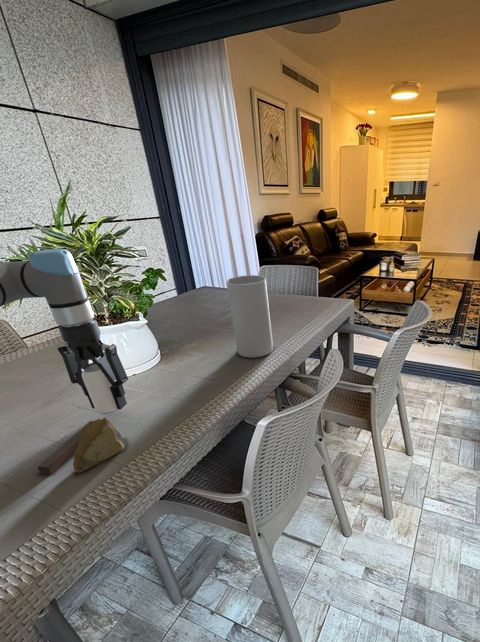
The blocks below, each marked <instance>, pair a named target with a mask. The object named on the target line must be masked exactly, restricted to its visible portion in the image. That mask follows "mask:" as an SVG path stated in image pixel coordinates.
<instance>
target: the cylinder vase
mask: <svg viewBox="0 0 480 642" xmlns="http://www.w3.org/2000/svg"><path fill="white" fill-rule="evenodd" d="M225 283H226V288H227V295H228V302H229V309H230V314H231V320H232V326H233V332H234V338H235V344H236V351H237V354H238V355H239V356H241V357H244V358H248V359H249V358H250V359H253V358H255V359H256V358H261V357H264V356H267V355H269V354H271V352H272V351H273V350H274V341H273V334H272V333H273V332H272V323H271V315H270V305H269V297H268V287H267V278H266V276H262V275H256V274H255V275H253V274H252V275H251V274H249V275H239V276H235V277H230V278H228V279H227V280H226V282H225Z"/></svg>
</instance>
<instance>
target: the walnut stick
mask: <svg viewBox="0 0 480 642" xmlns="http://www.w3.org/2000/svg"><path fill="white" fill-rule="evenodd" d="M93 421H94V420H90V421H88V422H87V423H86V424H84V425H83V426H82V427H81V428H80V429H79V430H78V431H77V432H75V433H74V434H73V435H72V436H70V437H69V439H67V440H66V441H65V442H64V443H63V444H61V445H60V446H59V447H58V448H57V449H55V450H54V451H53V452H52V453H51V454H49V456H47V457H46V458H45V459H43V461H42V462H40V463H39V464H38V465H37V466H36V468H37V469H38V471H39V473H40V474H42V475H53V474H54V473H55V472H56V471H57V470H58V469H59V468H60V467H61V466H62V465H63V464H64V463H66V462H67V461H68V460H69V459H70V458H71V457H72V456H74V453H75V450H76V449H77V448H78V444H79V440H80V438H81V431H82V429H84V428H86V427H87V426H88V425H90V424H91V423H92V422H93Z"/></svg>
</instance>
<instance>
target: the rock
mask: <svg viewBox="0 0 480 642" xmlns="http://www.w3.org/2000/svg"><path fill="white" fill-rule="evenodd" d="M92 421H93V422H92V423H91V424H90V425H88V426H87V427H86V428H84V429H82V431H81V438H80V440H79V444H78V448H77V449H76V450H75V453H74V454H73V463H72V466H73V469H74V471H75V472H76V473H77V474H80V473H83V472H84V471H86V470H88V469H90V468H92V467H94V466H96V465H98V464H99V463H101V462H103V461H105V460H107V459H109V458H112V457H113V456H115V455H116V454H119V453H120V452H122V451H123V450H124V449H125V447H126V446H125V445H126V444H125V443H126V442H125V440H124V438H123V436H122V434H121V433H120V431H119V430H118V429H117V428H116V427H115V426H114V424H113V423H112V422H111V421H110V420H108V419H107V418H106V417H103V418H102V419H99V418H98V419H96V420H92Z"/></svg>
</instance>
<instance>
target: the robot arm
mask: <svg viewBox="0 0 480 642" xmlns="http://www.w3.org/2000/svg"><path fill="white" fill-rule="evenodd" d="M28 259H29V261H0V307H3V306H5V305H8V304H11V303H13V302H16V301H19V300H22V299H32V298H45V301H46V302H47V304H48V306H49V309H50V311H51V314H52V316H53V319H54V321H55V324H56V325H59V326H58V330H59V333H60V336H61V338H62V340H63V341H64V342H65V343H64V344H62V345H60V346H58V347H57V351H58V352H59V354H60V356H61V357H62V359H63V362H64V365H65V369H66V371H67V374H68V377H69V381H70V383H72V384H74V385H75V384H78V385H79V386H80V388H81V389H82V392H83V394H84V395H85V396H86V397H87V399H88V401H89V403H90V407H91V408H92V409H94V410H96V409H95V407H94V405H93V403H92V400H91V398H90V395H89V393H88V391H87V388H86V386H85V383H84V381H83V379H82V371H81V369H84V368H86V367H87V366H88V365H89V364H90V361H92V362H91V363H94V364H97V366H98V367H99V368H100V369H101V371H102V372H103V374H104V375H105V377H106V378H107V379H108V381H109V382H110V383H111V385H112V386H111V387H110V390H111V392H112V395H113V398H114V400H115V403H116V406H117V408H118V410H117V411H119V410H122V409H123V408H125V406H126V405H128V402H127V399H126V397H125V395H126V391H125V389H124V386H123V385H124V384H125V383H126V382H127V381H128V380H129V377H128V374H127V372H126V370H125V367H124V365H123V363H122V361H121V359H120V356H119V354H118V348H117V345H116V344H115V343H112V344H111V345H110V344H106V343H105V342H104V341H103V340H102V339H101V329H100V326H99V324H98V321H97V320H96V319H95V314H94V310H93V308H92V306H91V302H90V300H89V298H88V295H87V293H86V290H85V286H84V284H83V281H82V277H81V273H80V269H79V267H78V266H77V265H76V262H75V259H74V257H73V255H72V253H71V252H70V251H68V250H67V249H64V248H51V249H42V250H36V251H32V252H30V253H29V254H28ZM115 380H116V381H115Z"/></svg>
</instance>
